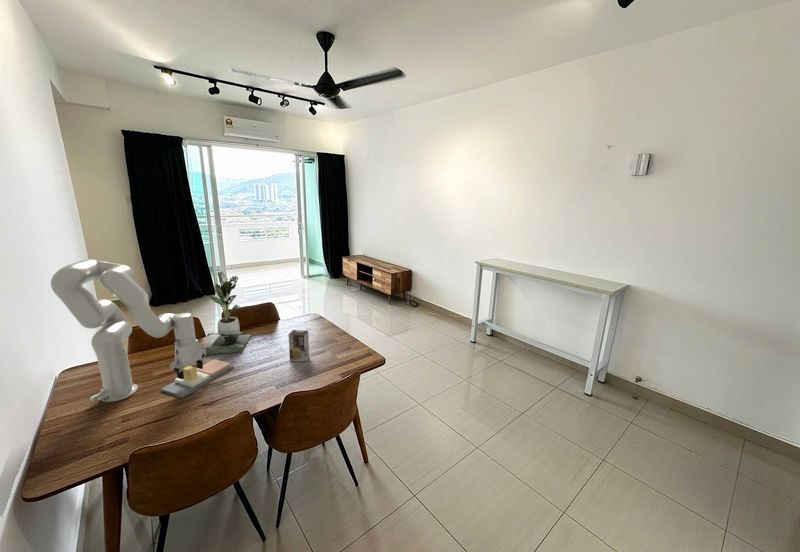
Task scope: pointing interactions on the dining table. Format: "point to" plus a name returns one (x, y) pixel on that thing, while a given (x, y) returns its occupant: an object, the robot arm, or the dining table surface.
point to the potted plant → (227, 322)
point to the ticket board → (211, 368)
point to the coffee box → (299, 345)
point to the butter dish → (192, 377)
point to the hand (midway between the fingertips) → (190, 373)
